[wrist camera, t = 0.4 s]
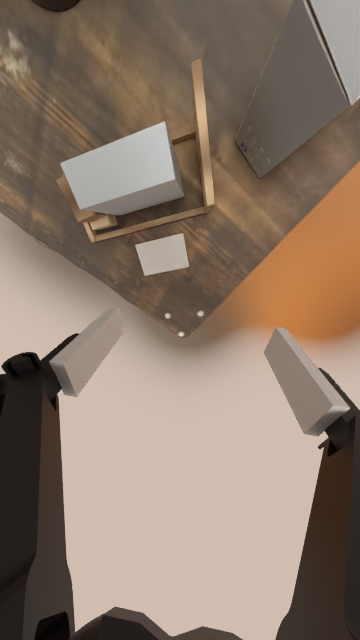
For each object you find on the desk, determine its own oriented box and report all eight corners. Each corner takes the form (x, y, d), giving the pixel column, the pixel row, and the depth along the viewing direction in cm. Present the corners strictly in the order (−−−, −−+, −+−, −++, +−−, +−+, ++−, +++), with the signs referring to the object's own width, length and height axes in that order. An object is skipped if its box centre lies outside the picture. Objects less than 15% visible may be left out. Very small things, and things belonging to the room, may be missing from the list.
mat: (135, 244, 36) (134, 244, 36) (183, 232, 34) (182, 233, 34) (145, 275, 40) (144, 275, 39) (189, 266, 37) (189, 266, 37)
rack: (68, 175, 31) (3, 149, 21) (201, 125, 26) (201, 58, 16) (96, 241, 37) (55, 246, 27) (210, 211, 32) (214, 203, 21)
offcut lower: (85, 184, 32) (71, 179, 29) (102, 178, 31) (90, 172, 28) (103, 229, 36) (92, 229, 32) (119, 224, 35) (110, 224, 31)
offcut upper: (72, 185, 29) (55, 180, 26) (88, 177, 28) (73, 170, 25) (91, 222, 32) (78, 222, 28) (106, 215, 31) (94, 214, 27)
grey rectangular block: (110, 186, 32) (60, 163, 20) (178, 162, 29) (164, 121, 18) (119, 215, 34) (79, 209, 23) (184, 196, 31) (175, 179, 20)
